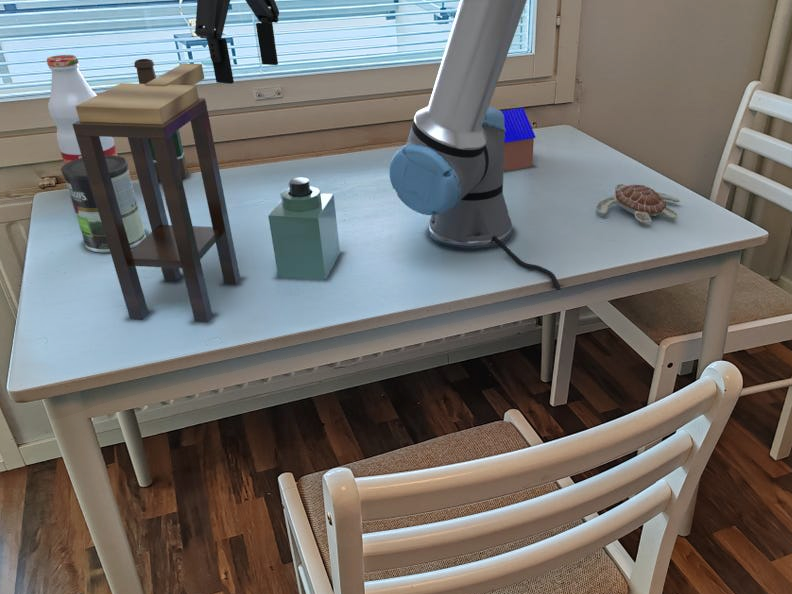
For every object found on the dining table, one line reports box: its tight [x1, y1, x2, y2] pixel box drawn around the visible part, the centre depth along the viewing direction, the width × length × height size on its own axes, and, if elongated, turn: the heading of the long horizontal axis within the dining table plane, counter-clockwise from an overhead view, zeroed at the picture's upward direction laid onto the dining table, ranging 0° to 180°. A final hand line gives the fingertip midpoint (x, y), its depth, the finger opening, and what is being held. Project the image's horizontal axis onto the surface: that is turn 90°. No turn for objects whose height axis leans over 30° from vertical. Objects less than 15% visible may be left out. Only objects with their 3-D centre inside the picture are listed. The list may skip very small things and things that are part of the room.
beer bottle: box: [133, 58, 188, 183], centre depth 154 cm, size 8×8×24 cm
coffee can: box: [60, 155, 147, 254], centre depth 129 cm, size 10×10×14 cm
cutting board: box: [76, 63, 205, 125], centre depth 104 cm, size 24×11×2 cm, turn 175°
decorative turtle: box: [595, 183, 681, 224], centre depth 145 cm, size 18×17×5 cm
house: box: [500, 107, 536, 173], centre depth 165 cm, size 12×20×12 cm, turn 117°
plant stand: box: [72, 97, 241, 323], centre depth 108 cm, size 14×12×29 cm
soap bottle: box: [267, 185, 341, 281], centre depth 122 cm, size 10×8×13 cm
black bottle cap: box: [288, 176, 311, 197], centre depth 118 cm, size 3×3×2 cm
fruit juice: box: [46, 54, 118, 165], centre depth 138 cm, size 9×9×28 cm
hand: (248, 73), depth 122 cm, fingers open, 13 cm apart
